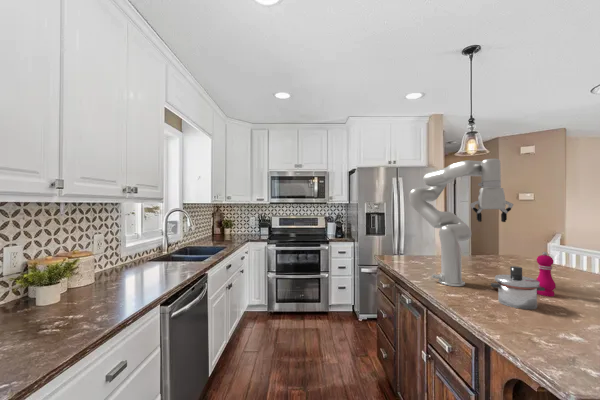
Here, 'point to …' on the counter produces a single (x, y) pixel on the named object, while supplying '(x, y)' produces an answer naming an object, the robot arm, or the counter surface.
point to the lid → (517, 279)
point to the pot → (517, 296)
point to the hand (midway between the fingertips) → (491, 221)
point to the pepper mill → (545, 275)
